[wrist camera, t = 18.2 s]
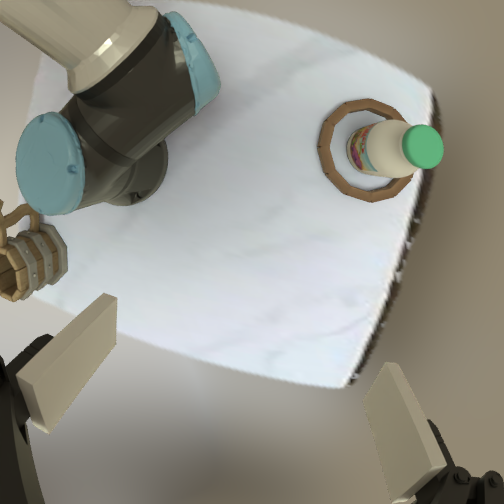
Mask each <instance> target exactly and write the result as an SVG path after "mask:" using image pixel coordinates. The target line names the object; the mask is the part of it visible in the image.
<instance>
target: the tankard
mask: <svg viewBox="0 0 504 504" xmlns="http://www.w3.org/2000/svg"><path fill="white" fill-rule="evenodd" d="M2 206H3V201H2V200H1V199H0V296H1V297H3V298H5V299H8V300H9V301H12V302H16V301H17V300H19V299H21V300H25V299H26V298H28V297H29V296H30V295H31V294H32V293H33V291H34V290H37V291H38V290H40V289H41V288H43V287H44V286H45V285H46V284H50V285H54V284H55V283H57V281H58V280H59V279H60V278H61V277H62V276H63V275H64V274H65V273H66V272H67V247H66V245H65V243H64V242H63V240H62V239H61V237H60V236H59V234H58V233H57V231H56V229H55V228H54V226H51V225H46V224H42V223H39V213H38V212H37V211H35V210H34V209H33V208H32V207H31V206H30V205H29V204H28V203H26V204H21V205H20V206H18V207H17V208H16V209H15V210H14V211H13V212H12V213H10V214H8V215H6V216H3V215H2V213H1V209H2ZM25 215H30V220H31V222H30V229H29V230H28V231H26V230H25V231H22V232H19V233H18V234H17V236H16V238H13V237H10V236H9V237H7V233H6V228H8V227H10V226H12V225H14V224H16V223H17V222H18V221H19V220H20V219H21V218H22V217H24V216H25Z"/></svg>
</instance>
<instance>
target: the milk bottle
mask: <svg viewBox="0 0 504 504" xmlns="http://www.w3.org/2000/svg"><path fill="white" fill-rule="evenodd" d="M347 155H348V158H349V161H350V163H351V164H352V165H353V167H354V168H355V169H357V170H358V171H359V172H361V173H364V174H368V175H373V176H380V177H388V178H402V177H406V176H409V175H411V174H413V173H414V172H415V171H417V170H418V169H419V168H422V169H429V168H433V167H435V166H436V165H437V164H438V163H439V162H440V161H441V159H442V156H443V142H442V139H441V137H440V135H439V134H438V132H437V131H436V130H435V129H433V128H432V127H430V126H427V125H422V124H421V125H415V126H411V125H410V124H408V123H406V122H404V121H400V120H385V121H381V122H378V123H374V124H372V125H369V126H366V127H363V128H361V129H359V130H357V131H355V132H354V133H353V134H352V135H351V137H350V138H349V140H348V144H347Z"/></svg>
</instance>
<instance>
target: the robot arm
mask: <svg viewBox="0 0 504 504" xmlns="http://www.w3.org/2000/svg"><path fill="white" fill-rule="evenodd" d="M0 22H1V23H3V24H4V25H5V26H7V27H8V28H10V29H11V30H13V31H14V32H16V33H17V34H18V35H20V36H21V37H23V38H24V39H26V40H27V41H28V42H30V43H31V44H33V45H34V46H36V47H37V48H38V49H40V50H41V51H42V52H44V53H45V54H46V55H48V56H49V57H51V58H52V59H53V60H55V61H56V62H57V63H59V64H60V65H62V66H63V67H64V68H66V70H67V75H68V89H69V91H70V92H71V93H73V94H74V96H73V97H72V98H71V99H70V101H69V102H68V103H67V104H66V105H65V106H64V107H63V108H62V110H61V111H60V112H59V113H56V112H48V113H46V114H42V115H39V116H37V117H35V118H34V119H33V120H32V121H31V122H30V123H29V124H28V125H27V126H26V128H25V129H24V131H23V133H22V135H21V137H20V140H19V143H18V147H17V151H16V177H17V181H18V185H19V188H20V191H21V193H22V195H23V197H24V199H25V200H26V202H27V203H28V204H29V205H30V206H31V207H32V208H33V209H34V210H35V211H37V212H38V213H40V214H44V215H48V216H54V215H65V214H69V213H71V212H73V211H75V210H78V209H81V208H85V207H88V206H91V205H94V204H98V203H101V202H107V203H109V204H112V205H116V206H129V205H133V204H136V203H139V202H142V201H144V200H146V199H147V198H149V197H150V196H151V195H152V194H153V193H154V192H155V191H156V190H157V189H158V188H159V186H160V185H161V183H162V181H163V179H164V176H165V174H166V170H167V165H168V152H167V147H166V143H165V141H164V138H165V137H166V136H168V135H169V134H170V133H171V132H173V131H174V130H175V129H176V128H178V127H179V126H180V125H181V124H183V123H184V122H185V121H187V120H188V119H189V118H191V117H192V116H196V115H197V113H199V110H200V109H202V108H203V107H204V106H205V105H207V104H208V103H209V102H210V101H212V100H213V99H214V98H215V97H216V96H217V95H218V93H219V90H220V86H221V82H220V78H219V75H218V72H217V70H216V68H215V66H214V64H213V62H212V60H211V58H210V56H209V54H208V53H207V51H206V49H205V48H204V46H203V44H202V43H201V41H200V40H199V39H198V38H197V37H196V34H195V33H194V32H193V30H192V28H191V27H190V25H189V24H188V23H187V21H186V20H185V19H184V18H183V17H182V16H181V15H180V14H179V13H177V12H170V13H165V14H164V15H163V16H162V15H161V14H160V13H159V12H158V10H157V9H156V8H155V7H152V6H131V5H130V4H129V3H128V2H127V1H126V0H0ZM116 320H117V297H114V296H111V295H108V294H105V293H103V294H102V295H101V296H99V297H98V298H97V299H96V300H95V301H94V302H93V303H91V304H90V305H89V306H88V307H87V308H86V309H85V310H84V311H82V312H81V313H80V314H79V315H78V316H77V317H76V318H75V319H74V320H72V321H71V322H70V323H69V324H68V325H67V326H66V327H65V328H64V329H63V330H62V331H60V333H58V334H57V335H56V336H55V337H53V336H51V335H49V334H45V335H43V336H40V337H38V338H36V339H35V340H34V341H33V342H32V343H31V344H30V345H29V346H27V347H26V348H25V349H24V351H22V352H21V353H20V354H19V355H18V356H17V357H15V358H14V359H13V360H12V361H11V362H10V363H9V364H8V365H7V366H6V367H5V364H4V360H3V358H2V357H1V356H0V504H45V502H44V498H43V495H42V492H41V488H40V485H39V481H38V477H37V473H36V469H35V465H34V461H33V456H32V451H31V446H30V441H29V435H28V429H27V425H26V421H27V420H28V418H29V417H31V420H32V422H33V425H34V426H35V427H37V428H39V429H41V430H42V431H44V432H46V433H47V434H50V433H51V432H52V430H53V429H54V427H55V426H56V424H57V423H58V422H59V420H60V419H61V417H62V416H63V415H64V413H65V412H66V410H67V409H68V408H69V406H70V405H71V403H72V402H73V401H74V399H75V398H76V396H77V395H78V394H79V392H80V391H81V390H82V388H83V387H84V386H85V384H86V383H87V382H88V380H89V379H90V378H91V376H92V375H93V374H94V372H95V371H96V370H97V368H98V367H99V366H100V364H101V363H102V362H103V361H104V359H105V358H106V357H107V355H108V354H109V353H110V351H111V350H112V349H113V348H114V346H115V345H116ZM363 405H364V408H365V411H366V415H367V418H368V421H369V424H370V428H371V431H372V434H373V438H374V441H375V445H376V448H377V451H378V455H379V459H380V462H381V466H382V469H383V473H384V477H385V480H386V484H387V488H388V492H389V496H390V500H391V503H398V502H405V501H407V500H408V499H410V498H411V497H412V496H413V495H414V494H415V496H416V499H417V500H415V501H414V502H413V503H411V504H504V482H503V479H502V477H501V476H500V474H499V473H497V472H495V471H488V472H486V473H485V475H483V476H482V477H481V478H479V477H471V475H470V474H469V472H468V471H467V470H465V469H464V468H462V467H458V466H457V467H456V466H455V464H454V462H453V460H452V458H451V456H450V453H449V451H448V449H447V447H446V445H445V444H444V441H443V439H442V437H441V434H440V432H439V430H438V428H437V427H436V426H435V425H434V423H432V421H431V420H426V418H425V416H424V413H423V412H422V409H421V407H420V405H419V404H418V402H417V400H416V397H415V395H414V394H413V392H412V390H411V388H410V386H409V384H408V382H407V380H406V378H405V377H404V374H403V372H402V371H401V369H400V367H399V365H398V364H397V363H391V362H385V363H384V365H383V367H382V369H381V370H380V372H379V374H378V376H377V377H376V379H375V381H374V383H373V384H372V386H371V388H370V389H369V391H368V393H367V394H366V396H365V397H364V399H363Z"/></svg>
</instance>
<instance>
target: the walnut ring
mask: <svg viewBox="0 0 504 504" xmlns="http://www.w3.org/2000/svg"><path fill="white" fill-rule="evenodd" d="M364 110H367V111H370V112H372V113H375V114H378V115H380V116H383V117H385V118H386V119H387V120H400V121H404V122H406V121H405V120H404V118H403V117H402V116H401V115H400V114H399V112H398V111H397V110H396V109H394V108H393V107H391V106H389V105H386V104H384V103H381V102H379V101H376V100H374V99H369V98H368V99H362V100H356V101H350V102H345V103H344V104H342V105H341V106H340V107H339V108H338V109H337V110H336V111H335V112H334V113H333V114H332V115H330V116H329V117H328V118H327V119H326V120H325V121H324V123H323V125H322V129H321V133H320V137H319V141H318V145H317V147H320V148H317V150H318V154H319V157H320V161H321V165H322V168H323V172H324V173H325V175H326V176H327V178H328V179H329V180H330V181H331V182H332V183H333V184H334V185H335V186H336V187H337V188H338V189H339V190H340V191H341V193H343V194H345V195H348V196H351V197H354V198H357V199H360V200H364V201H367V202H371V203H373V202H377V201H381V200H385V199H389V198H393V197H394V196H396V195H397V194H398V193H399V192H400V191H401V190H402V189H403V188H404V187H405V186H406V185H407V184H408V183H409V182H410V181H411V179H410V178H413V174H414V173H413V174H411V175H409V176H406V177H402V178H394V179H393V180H392V181H391V182H390V183H389V184H388V185H387V186H386V187H383V188H379V189H375V190H371V191H364V190H361V189H358V188H355V187H352V186H350V185H349V184H348V182H347V181H346V180H345V179H344V178H343V177H342V176H341V175H340V174H339V173H338V172H337V171H336V170H335V166H334V162H333V158H332V155H331V151H330V143H331V139H332V135H333V131H334V127H335V125H336V124H337V123H338V122H339V121H340V120H341V119H342V118H343V117H344V116H345V115H347V114H348V113H352V112H358V111H364ZM406 123H407V122H406Z"/></svg>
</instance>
